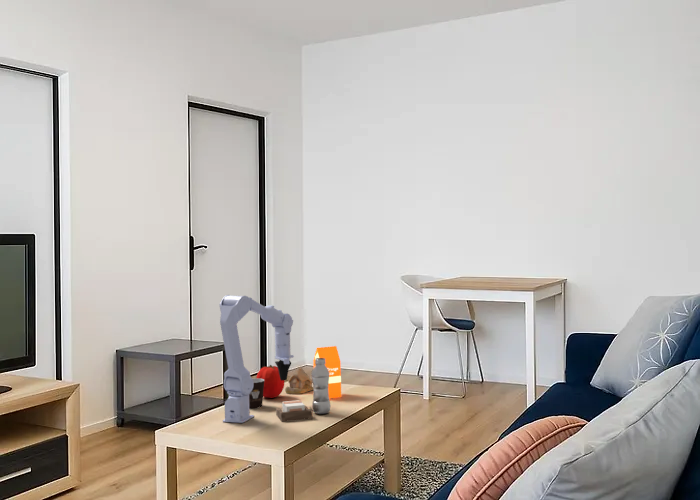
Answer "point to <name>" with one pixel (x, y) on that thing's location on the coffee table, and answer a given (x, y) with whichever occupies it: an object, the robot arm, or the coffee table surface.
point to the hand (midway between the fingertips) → (283, 380)
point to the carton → (293, 406)
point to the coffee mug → (256, 394)
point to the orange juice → (331, 369)
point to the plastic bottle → (320, 387)
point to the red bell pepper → (271, 381)
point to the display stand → (294, 415)
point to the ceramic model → (299, 382)
